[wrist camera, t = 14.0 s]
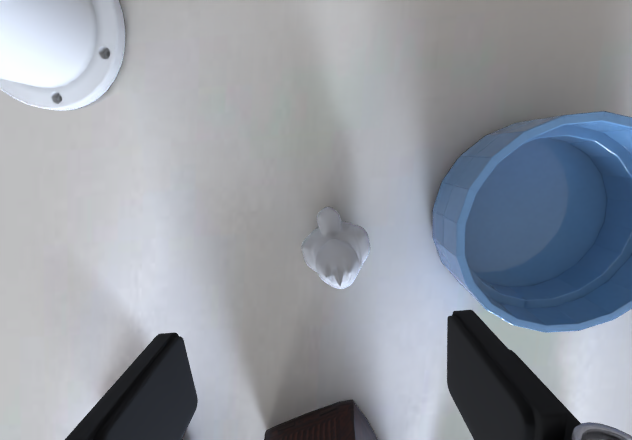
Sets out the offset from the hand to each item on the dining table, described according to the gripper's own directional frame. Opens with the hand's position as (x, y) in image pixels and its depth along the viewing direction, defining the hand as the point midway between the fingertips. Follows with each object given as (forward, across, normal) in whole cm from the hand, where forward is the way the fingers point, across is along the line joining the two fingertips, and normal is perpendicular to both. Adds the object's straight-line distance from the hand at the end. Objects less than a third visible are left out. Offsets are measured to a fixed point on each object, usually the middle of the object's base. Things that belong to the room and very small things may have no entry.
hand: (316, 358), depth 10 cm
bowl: (+16, -17, 0) cm, 23 cm away
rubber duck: (+16, -1, +1) cm, 16 cm away
